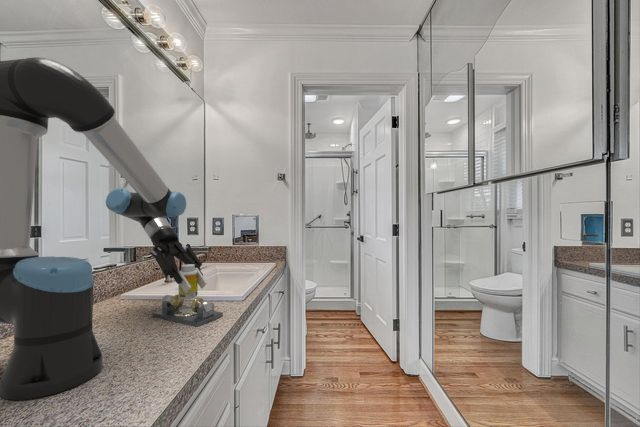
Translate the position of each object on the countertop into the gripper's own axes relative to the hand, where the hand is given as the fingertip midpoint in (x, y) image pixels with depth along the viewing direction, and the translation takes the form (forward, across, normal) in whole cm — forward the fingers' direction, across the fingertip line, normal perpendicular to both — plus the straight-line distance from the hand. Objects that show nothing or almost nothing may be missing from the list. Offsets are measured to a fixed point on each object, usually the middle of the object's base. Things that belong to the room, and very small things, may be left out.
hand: (196, 287), depth 95 cm
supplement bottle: (0, 0, -5) cm, 5 cm away
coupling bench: (+4, 0, -9) cm, 10 cm away
